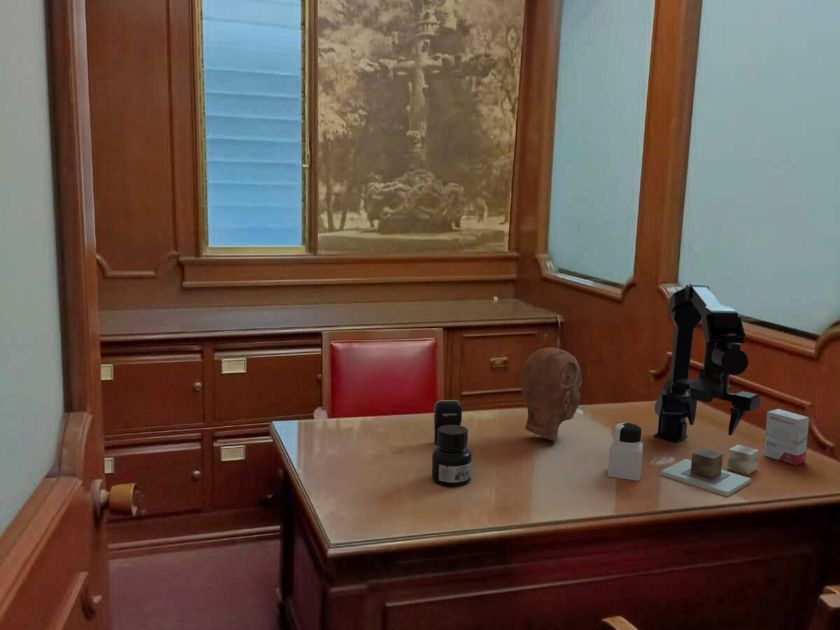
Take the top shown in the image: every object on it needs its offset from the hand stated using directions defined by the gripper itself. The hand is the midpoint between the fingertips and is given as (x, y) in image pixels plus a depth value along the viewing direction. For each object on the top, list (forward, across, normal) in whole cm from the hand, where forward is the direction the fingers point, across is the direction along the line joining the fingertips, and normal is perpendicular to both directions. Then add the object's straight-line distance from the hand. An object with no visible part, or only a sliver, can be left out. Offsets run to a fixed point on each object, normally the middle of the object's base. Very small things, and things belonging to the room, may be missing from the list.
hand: (710, 429), depth 171 cm
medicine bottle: (+12, -14, -12) cm, 22 cm away
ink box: (+12, +7, +28) cm, 31 cm away
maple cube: (+12, +3, +13) cm, 18 cm away
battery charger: (+12, -55, -30) cm, 64 cm away
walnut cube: (+11, 0, 0) cm, 11 cm away
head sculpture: (+12, -40, -6) cm, 42 cm away
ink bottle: (+12, -38, -46) cm, 61 cm away
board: (+12, 0, 0) cm, 12 cm away
